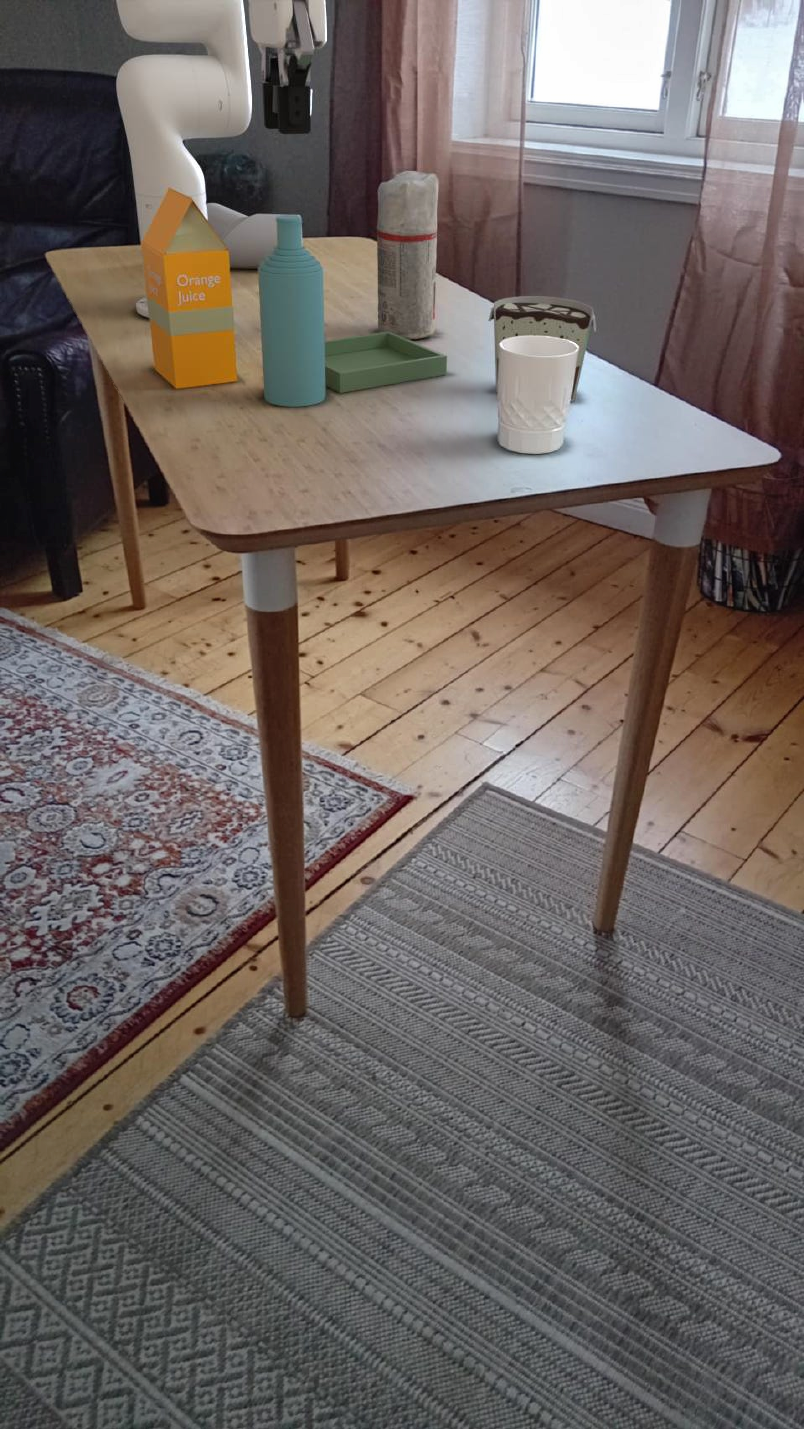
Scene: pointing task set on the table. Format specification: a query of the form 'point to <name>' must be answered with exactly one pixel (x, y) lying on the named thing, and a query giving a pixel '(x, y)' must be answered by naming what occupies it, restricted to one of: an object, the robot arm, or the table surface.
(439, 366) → the tray
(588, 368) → the table surface
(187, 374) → the orange juice
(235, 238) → the bent grey cylinder
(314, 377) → the bottle
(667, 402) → the table surface
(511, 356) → the white cup
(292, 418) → the table surface
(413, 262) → the spray can
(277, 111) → the cap
